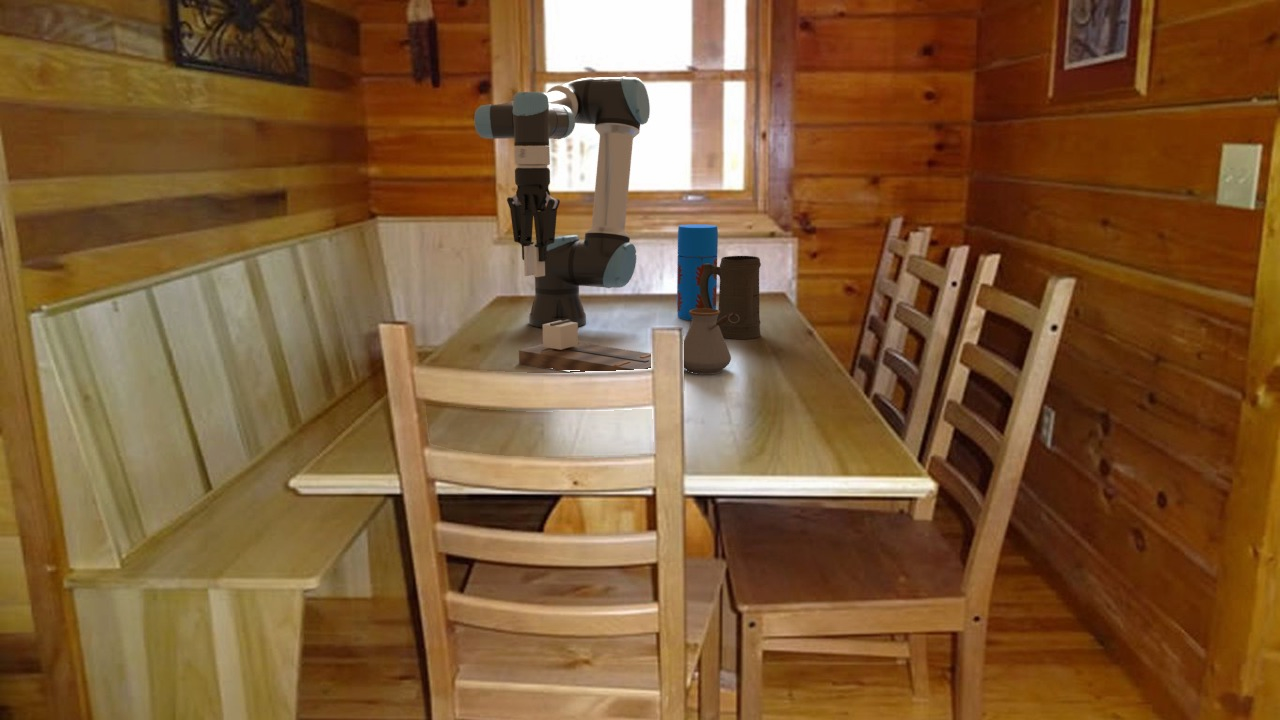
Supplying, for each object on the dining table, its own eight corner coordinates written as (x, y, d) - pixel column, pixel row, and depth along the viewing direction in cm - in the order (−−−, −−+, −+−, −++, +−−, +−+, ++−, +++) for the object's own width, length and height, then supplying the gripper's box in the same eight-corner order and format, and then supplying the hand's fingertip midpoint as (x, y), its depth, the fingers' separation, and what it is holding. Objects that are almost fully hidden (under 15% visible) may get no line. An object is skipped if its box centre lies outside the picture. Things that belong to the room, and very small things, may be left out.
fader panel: (519, 363, 205) (518, 349, 204) (560, 352, 216) (559, 338, 215) (639, 384, 187) (639, 369, 186) (677, 371, 198) (677, 356, 197)
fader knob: (543, 346, 205) (542, 322, 204) (560, 342, 210) (560, 318, 209) (560, 349, 202) (560, 325, 201) (578, 344, 207) (577, 320, 206)
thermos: (721, 315, 263) (723, 225, 257) (707, 321, 254) (709, 228, 248) (685, 312, 267) (686, 224, 262) (670, 318, 258) (671, 226, 252)
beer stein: (762, 331, 240) (759, 253, 236) (764, 339, 230) (760, 258, 225) (702, 334, 242) (698, 256, 238) (701, 342, 231) (697, 261, 227)
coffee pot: (669, 366, 203) (669, 297, 199) (718, 362, 206) (719, 295, 203) (705, 390, 183) (707, 314, 180) (759, 386, 186) (762, 311, 183)
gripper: (494, 166, 203) (497, 274, 208) (548, 167, 194) (550, 280, 199) (517, 165, 209) (520, 271, 214) (571, 167, 200) (572, 276, 205)
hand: (534, 275), depth 207 cm, fingers open, 2 cm apart
